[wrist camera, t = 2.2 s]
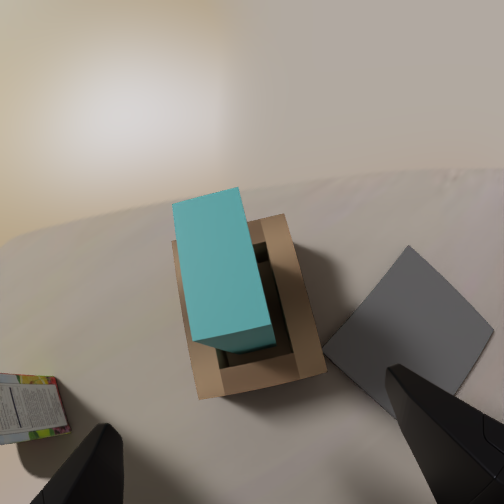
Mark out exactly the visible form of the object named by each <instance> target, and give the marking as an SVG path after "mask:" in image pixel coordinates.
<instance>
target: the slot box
mask: <svg viewBox="0 0 504 504" xmlns="http://www.w3.org/2000/svg"><path fill="white" fill-rule="evenodd" d="M247 225H248V229H249V233H250V237H251V241H252V245H253V249H254V253H255V257H256V261H257V265H258V269H259V273H260V277H261V281H262V285H263V290H264V294H265V298H266V302H267V306H268V310H269V315H270V319H271V323H272V327H273V331H274V335H275V340H276V344H277V346H276V347H271V348H267V349H263V350H258V351H254V352H249V353H245V354H240V355H239V354H235V353H231V352H228V351H224V350H221V349H217V348H214V347H210V346H207V345H204V344H200V343H197V342H194V341H192V336H191V330H190V324H189V319H188V313H187V307H186V301H185V295H184V289H183V282H182V276H181V269H180V262H179V255H178V248H177V240H174V241H172V248H173V256H174V263H175V270H176V277H177V284H178V291H179V297H180V304H181V310H182V316H183V322H184V327H185V333H186V339H187V344H188V349H189V355H190V360H191V365H192V370H193V375H194V380H195V384H196V389H197V394H198V398H199V400H201V399H208V398H214V397H220V396H226V395H231V394H237V393H242V392H247V391H252V390H257V389H261V388H266V387H270V386H275V385H279V384H283V383H288V382H292V381H296V380H300V379H304V378H307V377H311V376H315V375H319V374H322V373H326V372H328V371H327V367H326V363H325V359H324V355H323V351H322V347H321V344H320V340H319V336H318V332H317V328H316V324H315V321H314V317H313V313H312V309H311V306H310V302H309V298H308V295H307V291H306V287H305V284H304V280H303V277H302V273H301V269H300V266H299V262H298V259H297V255H296V252H295V249H294V245H293V242H292V238H291V235H290V232H289V228H288V225H287V221H286V218H285V215H284V214H279V215H275V216H271V217H267V218H263V219H258V220H254V221H250V222H247Z"/></svg>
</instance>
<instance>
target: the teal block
mask: <svg viewBox="0 0 504 504" xmlns="http://www.w3.org/2000/svg"><path fill="white" fill-rule="evenodd" d="M172 207H173V216H174V224H175V232H176V240H177V248H178V255H179V262H180V269H181V276H182V282H183V289H184V295H185V301H186V307H187V313H188V319H189V324H190V330H191V336H192V341H194V342H197V343H200V344H204V345H207V346H210V347H214V348H217V349H221V350H224V351H228V352H231V353H235V354H239V355H240V354H245V353H249V352H254V351H258V350H263V349H267V348H271V347H276V346H277V344H276V340H275V335H274V331H273V327H272V323H271V319H270V315H269V310H268V306H267V302H266V298H265V294H264V290H263V285H262V281H261V277H260V273H259V269H258V265H257V261H256V257H255V253H254V249H253V245H252V241H251V237H250V233H249V229H248V225H247V221H246V217H245V213H244V209H243V205H242V201H241V197H240V193H239V189H238V187H236V188H232V189H228V190H224V191H220V192H216V193H212V194H208V195H204V196H200V197H197V198H193V199H189V200H186V201H182V202H178V203H175V204H172Z"/></svg>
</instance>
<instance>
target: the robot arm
mask: <svg viewBox="0 0 504 504" xmlns="http://www.w3.org/2000/svg"><path fill="white" fill-rule="evenodd" d="M385 389H386V392H387V394H388V397H389V400H390V402H391V405H392V407H393V410H394V413H395V416H396V418H397V421H398V424H399V426H400V429H401V431H402V433H403V435H404V437H405V439H406V441H407V443H408V445H409V447H410V449H411V451H412V453H413V455H414V457H415V459H416V461H417V463H418V465H419V467H420V469H421V471H422V473H423V475H424V477H425V479H426V481H427V483H428V485H429V487H430V489H431V492H432V494H433V496H434V498H435V500H436V502H437V504H504V424H502V423H500V422H498V421H497V420H495V419H493V418H491V417H489V416H488V415H486V414H483V413H482V412H481V411H479V410H477V409H476V408H474V407H472V406H470V405H469V404H467V403H465V402H464V401H462V400H460V399H459V398H457V397H455V396H454V395H452V394H450V393H448V392H447V391H445V390H443V389H442V388H440V387H438V386H437V385H435V384H433V383H432V382H430V381H428V380H427V379H425V378H423V377H422V376H420V375H418V374H417V373H415V372H413V371H412V370H410V369H408V368H407V367H405V366H403V365H402V364H400V363H396V364H394V365H391V366H388V367H387V369H386V376H385ZM123 490H124V465H123V441H122V437H121V436H120V434H119V433H118V432H117V431H116V430H115V429H114V428H113V427H112V425H111V424H109V423H99V424H97V425H96V426H95V427H94V429H93V430H92V431H91V432H90V433H89V434H88V436H87V437H86V438H85V439H84V440H83V441H82V443H81V444H80V445H79V446H78V447H77V449H76V450H75V451H74V452H73V453H72V454H71V456H70V457H69V458H68V459H67V460H66V462H65V463H64V464H63V465H62V466H61V467H60V469H59V470H58V471H57V472H56V473H55V475H54V476H53V477H52V478H51V479H50V481H49V482H48V483H47V484H46V485H45V486H44V488H43V490H41V491H40V493H39V494H38V495H37V496H36V497H35V498H34V499H33V500H32V502H31V503H30V504H123Z"/></svg>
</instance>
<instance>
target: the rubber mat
mask: <svg viewBox="0 0 504 504" xmlns="http://www.w3.org/2000/svg"><path fill="white" fill-rule="evenodd" d="M493 330H494V329H493V328H492V327H491V326H490V325H489V324H488V322H487V321H486V320H485V319H484V318H483V317H482V316H481V315H480V314H479V313H478V312H477V311H476V310H475V309H474V307H473V306H472V305H471V304H470V303H469V302H468V301H467V300H466V299H465V298H464V297H463V296H462V295H461V294H460V293H459V292H458V291H457V290H456V289H455V288H454V287H453V286H452V285H451V284H450V283H449V282H448V281H447V280H446V279H445V278H444V277H443V276H442V275H441V274H440V273H438V272H437V271H436V270H435V269H434V268H433V267H432V266H431V265H430V264H429V263H428V262H427V261H426V260H425V259H424V258H422V257H421V256H420V255H419V254H418V253H417V252H416V251H415V250H414V249H413V248H411V247H410V246H409V245H408V246H407V247H406V249H405V250H404V251H403V253H402V254H401V255H400V256H399V258H398V259H397V260H396V262H395V263H394V264H393V266H392V267H391V268H390V269H389V271H388V272H387V273H386V274H385V276H384V277H383V278H382V279H381V281H380V282H379V283H378V284H377V286H376V287H375V288H374V289H373V290H372V292H371V293H370V294H369V295H368V296H367V298H366V299H365V300H364V301H363V302H362V304H361V305H360V306H359V307H358V308H357V309H356V311H355V312H354V313H353V314H352V315H351V316H350V317H349V319H348V320H347V321H346V322H345V323H344V324H343V325H342V326H341V328H340V329H339V330H338V331H337V332H336V333H335V334H334V335H333V336H332V337H331V339H330V340H329V341H328V342H327V343H326V344H325V345H324V346H323V347H322V351H323V354H325V355H326V356H327V357H328V358H329V359H330V360H331V361H332V362H333V363H334V364H335V365H336V366H337V367H339V368H340V369H341V370H342V371H343V372H344V373H345V374H346V375H347V376H348V377H349V378H351V379H352V380H353V381H354V382H355V383H356V384H357V385H358V386H359V387H360V388H362V389H363V390H364V391H365V392H366V393H367V394H368V395H369V396H370V397H372V398H373V399H374V400H375V401H376V402H377V403H378V404H379V405H380V406H382V407H383V408H384V409H385V410H386V411H387V412H388V413H389V414H390V415H392V416H393V417H394V418H395V419H396V420H397V418H396V416H395V413H394V410H393V407H392V405H391V402H390V400H389V397H388V394H387V392H386V389H385V376H386V369H387V367H388V366H391V365H394V364H396V363H400V364H402V365H403V366H405V367H407V368H408V369H410V370H412V371H413V372H415V373H417V374H418V375H420V376H422V377H423V378H425V379H427V380H428V381H430V382H432V383H433V384H435V385H437V386H438V387H440V388H442V389H443V390H445V391H447V392H448V393H450V394H452V395H454V394H455V392H456V391H457V389H458V388H459V386H460V385H461V384H462V382H463V381H464V379H465V378H466V376H467V374H468V373H469V371H470V370H471V368H472V367H473V365H474V363H475V362H476V360H477V358H478V357H479V355H480V353H481V352H482V350H483V348H484V346H485V345H486V343H487V341H488V339H489V338H490V336H491V334H492V332H493Z"/></svg>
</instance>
